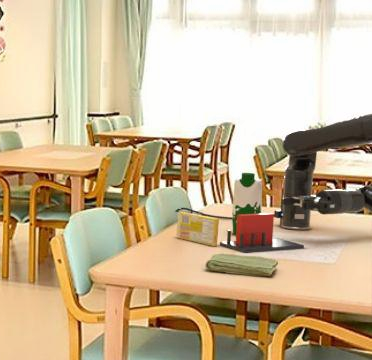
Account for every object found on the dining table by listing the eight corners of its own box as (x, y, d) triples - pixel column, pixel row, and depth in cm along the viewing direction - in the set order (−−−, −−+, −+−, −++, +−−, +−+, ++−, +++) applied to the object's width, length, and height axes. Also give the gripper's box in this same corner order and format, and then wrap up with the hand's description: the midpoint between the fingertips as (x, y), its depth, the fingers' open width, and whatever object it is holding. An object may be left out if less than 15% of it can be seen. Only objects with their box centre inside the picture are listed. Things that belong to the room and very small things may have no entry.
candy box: (218, 246, 277) (219, 218, 276) (213, 246, 276) (214, 219, 275) (180, 237, 290) (182, 211, 289) (175, 237, 289) (176, 211, 288)
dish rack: (219, 245, 278) (220, 228, 278) (277, 241, 288) (278, 225, 287) (244, 252, 267) (245, 235, 267) (303, 248, 277) (304, 231, 277)
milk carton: (230, 235, 296) (233, 173, 293) (233, 231, 304) (236, 170, 302) (258, 237, 293) (261, 175, 291) (261, 233, 301) (264, 172, 299)
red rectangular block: (235, 244, 274) (237, 214, 273) (267, 242, 280) (269, 212, 279) (240, 245, 273) (241, 215, 271) (272, 243, 278) (274, 214, 277)
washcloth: (273, 278, 235) (274, 265, 234) (204, 271, 240) (204, 259, 240) (278, 268, 247) (279, 256, 246) (211, 262, 253) (212, 250, 252)
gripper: (318, 187, 294) (278, 188, 287) (351, 193, 282) (310, 194, 274) (317, 210, 295) (276, 212, 288) (349, 217, 282) (308, 219, 275)
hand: (293, 203), depth 281 cm, fingers open, 8 cm apart
